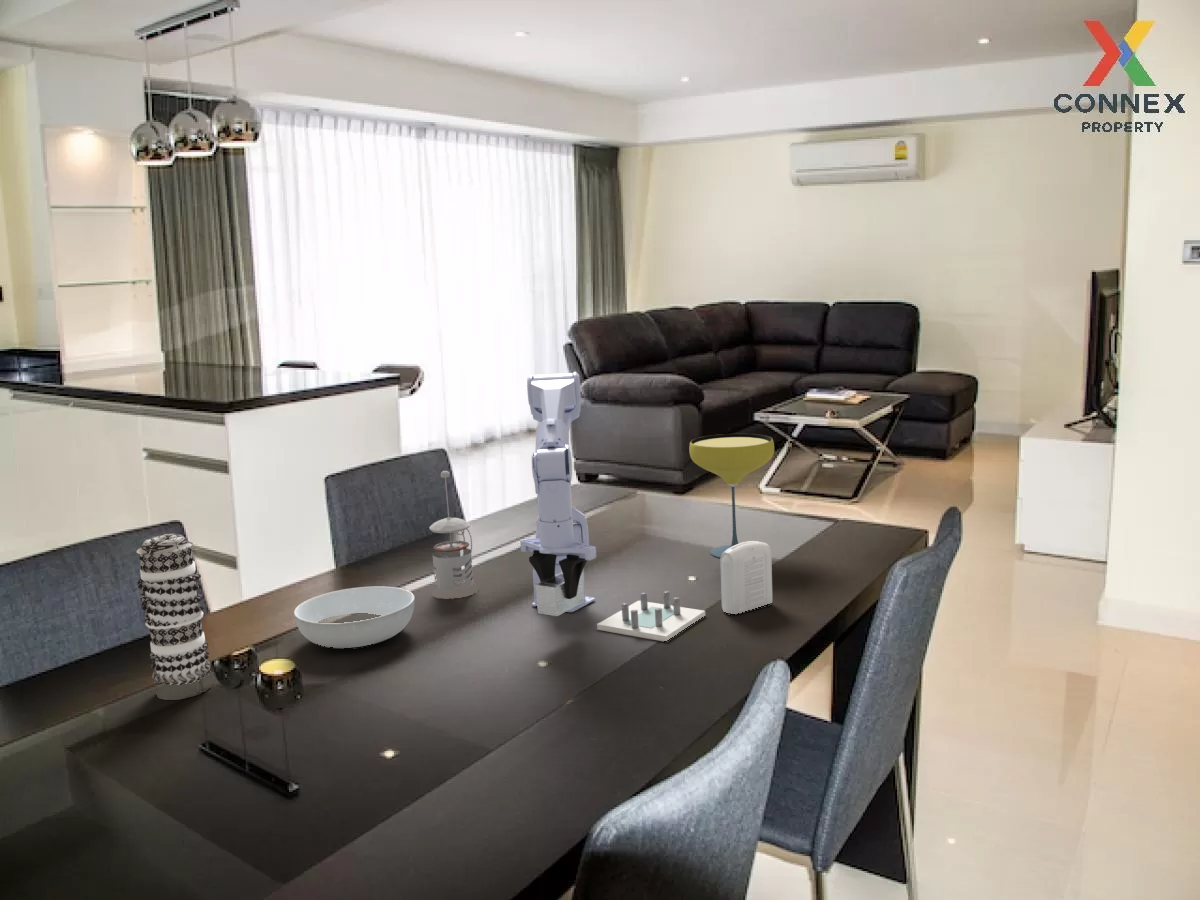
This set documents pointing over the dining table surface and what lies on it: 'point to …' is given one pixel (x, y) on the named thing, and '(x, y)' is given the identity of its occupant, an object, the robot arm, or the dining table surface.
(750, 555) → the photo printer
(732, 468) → the cocktail glass
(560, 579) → the block
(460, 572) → the french press
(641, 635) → the dock
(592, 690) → the dining table surface
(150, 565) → the decorative candle
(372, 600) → the serving bowl
